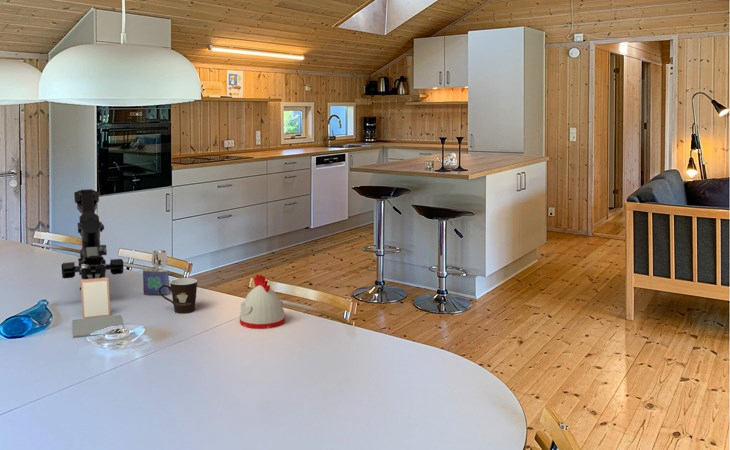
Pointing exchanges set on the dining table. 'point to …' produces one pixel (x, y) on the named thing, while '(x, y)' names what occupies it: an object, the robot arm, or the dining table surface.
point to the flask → (155, 281)
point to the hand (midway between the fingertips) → (94, 290)
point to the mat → (94, 324)
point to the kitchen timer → (261, 307)
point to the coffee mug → (182, 294)
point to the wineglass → (159, 259)
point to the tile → (95, 297)
